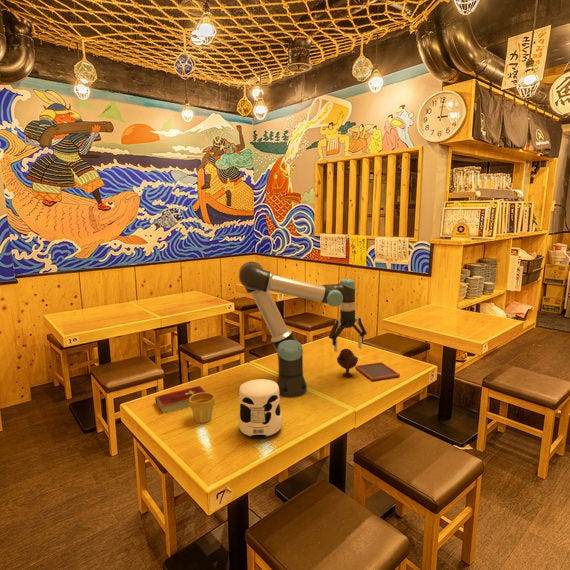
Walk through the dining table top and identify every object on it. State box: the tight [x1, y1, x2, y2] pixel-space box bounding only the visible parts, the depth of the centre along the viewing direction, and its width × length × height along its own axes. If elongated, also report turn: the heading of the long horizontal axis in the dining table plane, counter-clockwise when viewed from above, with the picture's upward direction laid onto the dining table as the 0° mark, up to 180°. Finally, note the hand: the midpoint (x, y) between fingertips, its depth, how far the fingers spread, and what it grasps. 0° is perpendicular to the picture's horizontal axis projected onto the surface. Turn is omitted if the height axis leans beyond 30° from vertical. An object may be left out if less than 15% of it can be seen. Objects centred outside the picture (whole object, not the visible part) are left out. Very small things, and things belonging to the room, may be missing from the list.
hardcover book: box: [154, 385, 206, 414], centre depth 181 cm, size 12×21×4 cm, turn 121°
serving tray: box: [354, 361, 401, 383], centre depth 209 cm, size 16×18×2 cm
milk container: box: [237, 378, 283, 439], centre depth 155 cm, size 17×17×18 cm
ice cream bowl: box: [336, 348, 359, 379], centre depth 205 cm, size 11×11×15 cm
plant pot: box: [189, 391, 216, 424], centre depth 165 cm, size 10×10×10 cm
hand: (348, 349), depth 204 cm, fingers open, 13 cm apart
